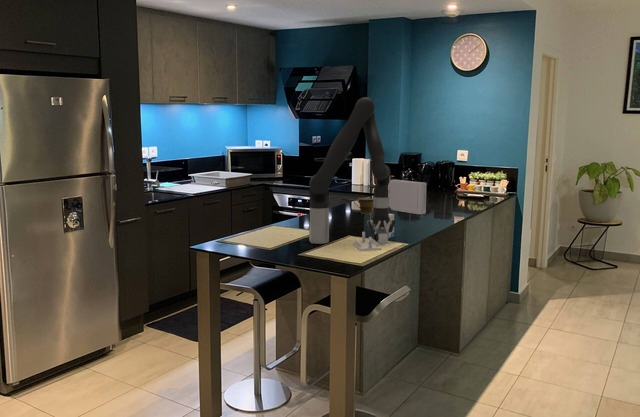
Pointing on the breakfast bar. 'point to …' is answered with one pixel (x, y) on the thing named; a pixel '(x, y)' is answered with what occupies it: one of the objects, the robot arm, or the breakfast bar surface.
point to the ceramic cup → (365, 205)
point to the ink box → (391, 234)
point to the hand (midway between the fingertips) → (380, 240)
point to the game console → (407, 196)
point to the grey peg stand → (366, 244)
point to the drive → (382, 237)
